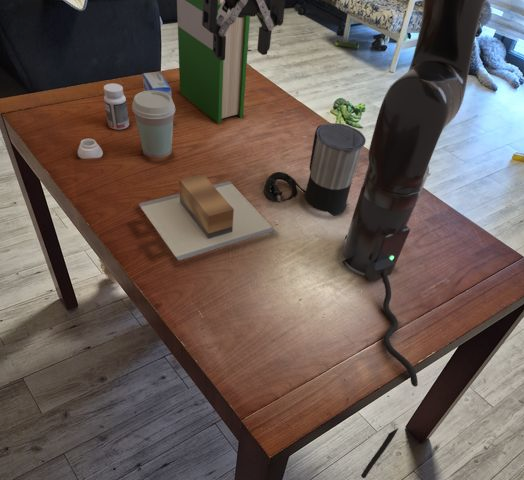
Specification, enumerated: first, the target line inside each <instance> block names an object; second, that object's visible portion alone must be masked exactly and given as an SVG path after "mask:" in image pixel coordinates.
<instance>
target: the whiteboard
mask: <svg viewBox="0 0 524 480" xmlns="http://www.w3.org/2000/svg"><path fill="white" fill-rule="evenodd" d="M212 185H213V186H214V187H215V188H216V189H217V191H218V192H219V193H220V194H221V195H222V196H223V197H224V199H225V200H226V201H227V202H228V203H229V204H230V205H231V207H232V208H233V209H234V214H233V230H232V232H230V233H227V234H223V235H220V236H216V237H213V238H210V239H208V238H207V236H206V235H205V234H204V232H203V231H202V230H201V229H200V227H199V226H198V225H197V223H196V222H195V221H194V220H193V218H192V217H191V216H190V215H189V213H188V212H187V211H186V209H185V208H184V207H183V206H182V204H181V203H180V192H179V193H175V194H171V195H167V196H164V197H159V198H156V199H151V200H148V201H143V202H139V203H138V206H139V207H140V209H141V210H142V211H143V213H144V215H145V216H146V217H147V219H148V220H149V221H150V223H151V224H152V225H153V227H154V229H155V230H156V231H157V233H158V234H159V236H160V237H161V239H162V240H163V241H164V243H165V244H166V246H167V247H168V249H169V250H170V251H171V253H172V255H174V257H175V258H176V261H178V262H180V261H182V260H185V259H189V258H192V257H195V256H199V255H202V254H206V253H208V252H211V251H214V250H218V249H221V248H224V247H227V246H230V245H231V246H232V245H235V244H237V243H240V242H243V241H247V240H250V239H253V238H257V237H260V236H263V235H267V234H270V233H273V232H276V230H275V229H274V227H272V226H271V224H269V223H268V221H267V220H266V219H265V218H264V217H263V216H262V215H261V214H260V213H259V212H258V210H257V209H256V208H255V207H254V206H253V205H252V204H251V203H250V202H249V200H248V199H247V198H246V197H245V196H244V195H243V194H242V193H241V192H240V190H239V189H237V187H236V186H235V185H234V184H233V182H232V181H230V180H228V181H223V182H220V183H216V184H212Z"/></svg>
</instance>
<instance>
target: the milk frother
mask: <svg viewBox="0 0 524 480" xmlns="http://www.w3.org/2000/svg"><path fill="white" fill-rule="evenodd" d="M313 136H314V137H313V142H312V149H311V154H310V155H311V156H310V160H309V161H310V162H309V171H310V172H309V177H308V181H307V185H306V189H304V188H302V187H301V185H300V184H299V183H298V182H297V180H295V179H294V178H293V177H292V176H291V175H289V174H288V173H287V172H282V171H277V172H276V171H275V172H274V173H271V174H270V175H269V176H268V178H266V180H265V183H264V186H263V192H264V195H265V197H266V198H267V199H268V200H269V201H271V202H275V203H283V202H286V201H290V200H292V199H296V197H297V196H298V189H299V190H300V191H301V192H302V193H303V194H304V200H305V202H306V203H307V204H308V205H309V206H310V207H312V208H313V209H315V210H318V211H321V212H325V213H328V214H329V215H332V217H336V216H340V215H341V214H344V212H345V211H346V209H347V202H348V198H349V195H350V190H351V187H352V183H353V180H354V177H355V174H356V170H357V167H358V164H359V160H360V157H361V155H362V150H363V147H364V146H365V145H366V141H367V140H366V139H367V138H366V137H365V135H364V134H363V132H361V130H358V129H357V128H355V127H353V126H351V125H348V124H344V123H341V122H339V123H338V122H337V123H334V122H330V123H325V124H320V125H318V126H317V127H316V129H315V132H314V135H313ZM279 180H280V181H284V182H286V183H287V184H288V185H289V186H290V190H291V193H290V195H289V196H288V197H286V198H281V197H282V195H283V193H284V192H283V191H282V190H281V189H280V186H279V185H278V184H277V181H279Z"/></svg>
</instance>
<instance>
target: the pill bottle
mask: <svg viewBox="0 0 524 480" xmlns="http://www.w3.org/2000/svg"><path fill="white" fill-rule="evenodd" d="M103 93H104V96H103V102H104V108H105V114H106V121H107V125H108V127H109V128H110V129H113V130H115V131H123V130H126V129H127V128H128V127H129V126H130V118H129V112H128V104H127V98H126V96H125V94H124V88H123V86H122V85H121V84H119V83H112V82H111V83H107V84H105V85H103Z"/></svg>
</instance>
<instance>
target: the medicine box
mask: <svg viewBox="0 0 524 480" xmlns="http://www.w3.org/2000/svg"><path fill="white" fill-rule="evenodd" d="M142 82H143V91H149V90H154V91H161V92H164V93H166V94H168V95H169V96H171V98H172V99H173V97H172V96H173V95H172V88H171V85H170V84H169V83H168V82H167V79H165V77H164V76H163V74H162V73H161V72H144V73H142Z"/></svg>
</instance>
